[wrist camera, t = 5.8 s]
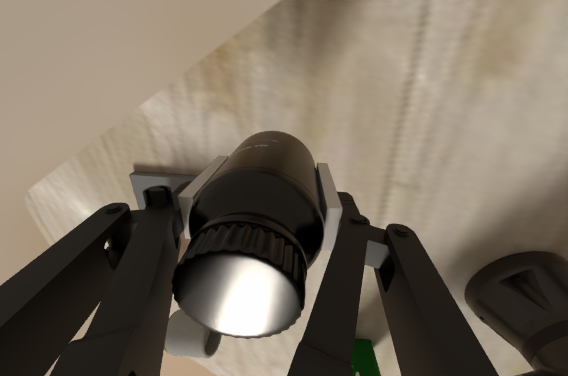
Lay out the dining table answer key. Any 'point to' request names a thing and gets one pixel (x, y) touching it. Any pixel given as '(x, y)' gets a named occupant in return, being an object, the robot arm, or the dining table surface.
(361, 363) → the milk carton
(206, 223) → the supplement bottle
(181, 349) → the ceramic mug
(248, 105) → the dining table surface
